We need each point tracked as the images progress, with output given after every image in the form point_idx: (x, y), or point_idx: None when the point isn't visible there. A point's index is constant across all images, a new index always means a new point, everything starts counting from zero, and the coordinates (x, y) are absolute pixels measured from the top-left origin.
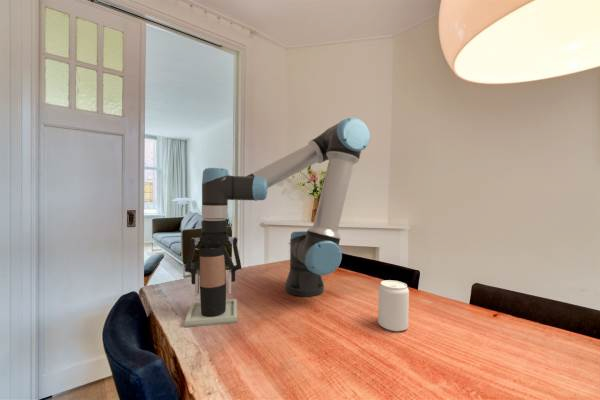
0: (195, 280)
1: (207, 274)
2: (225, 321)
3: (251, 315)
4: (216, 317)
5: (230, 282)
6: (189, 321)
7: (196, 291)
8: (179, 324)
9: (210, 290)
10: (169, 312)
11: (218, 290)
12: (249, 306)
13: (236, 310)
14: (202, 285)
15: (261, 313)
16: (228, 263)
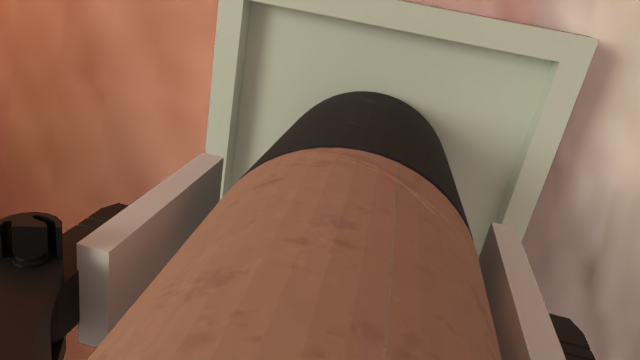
0: (547, 318)
1: (412, 245)
2: None
3: (138, 45)
4: (363, 18)
5: (157, 192)
6: (563, 32)
7: (510, 245)
8: (609, 100)
9: (384, 147)
10: (631, 314)
11: (303, 139)
12: (137, 185)
13: (215, 85)
14: (464, 226)
15: (76, 49)
16: (17, 343)
